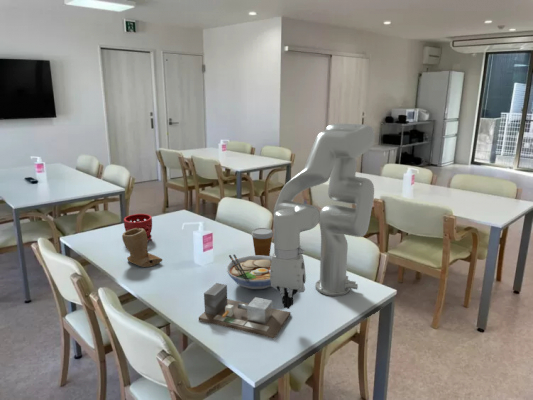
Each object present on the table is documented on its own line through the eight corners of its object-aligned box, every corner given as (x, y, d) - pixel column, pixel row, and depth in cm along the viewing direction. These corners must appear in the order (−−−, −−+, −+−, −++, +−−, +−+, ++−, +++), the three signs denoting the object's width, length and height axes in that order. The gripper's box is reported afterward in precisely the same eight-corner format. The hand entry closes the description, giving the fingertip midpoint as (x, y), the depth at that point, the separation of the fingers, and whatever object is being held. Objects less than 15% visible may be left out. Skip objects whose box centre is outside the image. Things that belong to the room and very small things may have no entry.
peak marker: (233, 313, 132) (233, 305, 131) (226, 321, 128) (225, 313, 127) (228, 312, 133) (227, 304, 132) (220, 320, 128) (220, 311, 128)
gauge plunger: (272, 314, 131) (272, 300, 130) (265, 324, 126) (265, 309, 125) (243, 308, 135) (242, 294, 134) (234, 317, 130) (234, 303, 129)
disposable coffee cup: (248, 259, 179) (247, 232, 176) (256, 251, 188) (256, 226, 185) (268, 262, 176) (268, 235, 172) (276, 254, 184) (276, 228, 181)
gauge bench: (290, 315, 134) (290, 292, 131) (274, 338, 121) (274, 313, 119) (220, 300, 143) (219, 279, 141) (198, 320, 131) (197, 297, 129)
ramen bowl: (297, 295, 147) (297, 274, 144) (234, 305, 140) (233, 283, 138) (275, 268, 170) (275, 249, 168) (221, 275, 163) (220, 255, 161)
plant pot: (120, 241, 200) (117, 218, 197) (141, 234, 211) (140, 212, 208) (137, 247, 193) (135, 223, 190) (159, 239, 204) (157, 216, 201)
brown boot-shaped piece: (119, 262, 176) (116, 229, 172) (144, 254, 184) (142, 222, 181) (138, 272, 166) (134, 237, 162) (163, 264, 174) (161, 230, 170)
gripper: (315, 249, 121) (314, 304, 127) (268, 243, 127) (270, 296, 132) (307, 260, 115) (307, 317, 120) (258, 252, 120) (260, 308, 126)
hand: (288, 306), depth 126 cm, fingers closed
